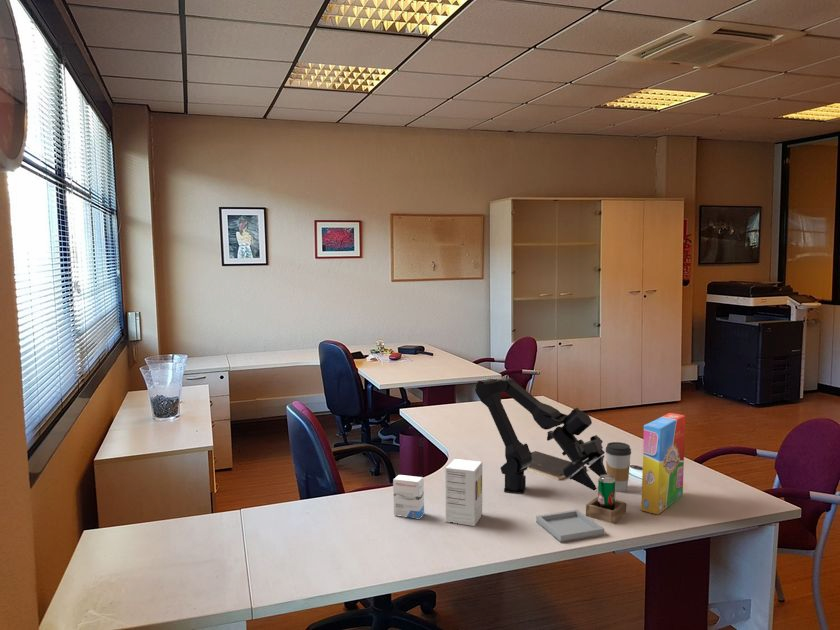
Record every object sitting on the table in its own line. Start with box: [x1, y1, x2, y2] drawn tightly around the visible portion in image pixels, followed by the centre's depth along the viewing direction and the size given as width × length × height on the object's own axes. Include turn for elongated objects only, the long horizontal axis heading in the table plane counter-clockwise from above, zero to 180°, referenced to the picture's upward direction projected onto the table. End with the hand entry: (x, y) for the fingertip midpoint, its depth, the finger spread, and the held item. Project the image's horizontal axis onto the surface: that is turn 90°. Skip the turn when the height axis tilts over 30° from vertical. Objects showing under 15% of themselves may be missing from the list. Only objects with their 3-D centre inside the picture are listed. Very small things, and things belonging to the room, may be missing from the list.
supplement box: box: [444, 458, 483, 527], centre depth 191 cm, size 10×9×17 cm
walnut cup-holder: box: [585, 496, 628, 525], centre depth 193 cm, size 9×9×4 cm
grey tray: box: [535, 509, 605, 544], centre depth 183 cm, size 14×14×2 cm
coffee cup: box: [605, 441, 632, 493], centre depth 213 cm, size 8×8×15 cm
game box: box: [640, 412, 686, 515], centre depth 200 cm, size 21×6×27 cm, turn 137°
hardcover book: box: [527, 450, 586, 481], centre depth 236 cm, size 16×23×2 cm
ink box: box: [392, 474, 425, 519], centre depth 194 cm, size 8×5×12 cm, turn 71°
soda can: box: [597, 475, 616, 511], centre depth 192 cm, size 5×5×12 cm
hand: (602, 485), depth 193 cm, fingers open, 9 cm apart
